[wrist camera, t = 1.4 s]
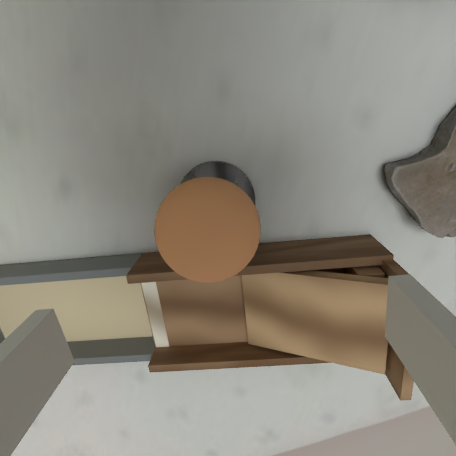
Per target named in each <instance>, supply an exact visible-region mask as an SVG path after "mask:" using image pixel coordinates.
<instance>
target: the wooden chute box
mask: <svg viewBox="0 0 456 456" xmlns="http://www.w3.org/2000/svg"><path fill="white" fill-rule="evenodd" d="M393 256H394V255H393V254H392V253H391V252H390V251H388V250H387V249H386V248H385V247H384V246H383V245H382V244H381V243H379V242H378V241H377V240H376V239H375V238H374V237H373V236H371V235H359V236H347V237H334V238H322V239H310V240H298V241H286V242H274V243H262V244H258V248H257V250H256V252H255V255H254V256H253V258H252V259H251V261H250V262H249V263H248V264H247V266H246V267H245V268H244V269H243V270H241V271H240V272H239V273H237V274H236V275H234V276H232V277H230V278H228V279H225V280H223V281H219V282H213V283H203V282H196V281H192V280H189V279H187V278H185V277H182V276H181V275H179V274H178V273H176V272H175V271H174V270H172V269H171V268H170V267H169V266H168V265H167V263H166V262H165V261H164V259H163V258H162V256H161V254H160V252H152V253H142V254H141V256H140V257H139V258H138V260H137V261H136V262H135V264H134V265H133V267H132V268H131V269H130V271H129V272H128V273H127V275H126V278H127V282H128V284H133V283H140V284H141V288H142V293H143V297H144V301H145V305H146V310H147V314H148V318H149V323H150V327H151V331H152V336H153V340H154V344H155V349H154V352H153V354H152V357H151V360H150V363H149V365H148V367H149V371H150V372H165V371H184V370H202V369H221V368H239V367H258V366H277V365H295V364H314V363H336V364H341V365H345V366H349V367H354V368H358V369H363V370H367V371H372V372H376V373H381V374H386V376H387V378H388V380H389V381H390V383H391V385H392V387H393V388H394V390H395V392H396V394H397V395H398V397H399V399H400V400H411V396H412V389H413V382H414V380H413V379H412V377H411V376H410V374H409V373H408V371H407V369H406V368H405V366H404V365H403V363H402V362H401V360H400V359H399V357H398V356H397V354H396V353H395V351H394V350H393V348H392V347H391V345H390V343H389V342H388V340H387V339H386V337H385V327H386V308H387V290H388V276H396V275H406V274H409V273H407V272H406V271H405V270H404V269H403V268H402V267H401V266H400V265H399V264H398V263H396V262H395V261H394V260H393Z"/></svg>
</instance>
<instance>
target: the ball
mask: <svg viewBox="0 0 456 456" xmlns="http://www.w3.org/2000/svg"><path fill="white" fill-rule="evenodd" d="M154 233H155V240H156V244H157V248H158V250H159V252H160V254H161V256H162V258H163V259H164V261H165V262H166V263H167V265H168V266H169V267H170V268H171V269H172V270H174V271H175V272H176V273H178V274H179V275H181V276H182V277H185V278H187V279H189V280H192V281H196V282H203V283H213V282H219V281H223V280H225V279H228V278H230V277H232V276H234V275H236V274H237V273H239V272H240V271H241V270H243V269H244V268H245V267H246V266H247V264H248V263H249V262H250V261H251V259H252V258H253V256H254V255H255V252H256V250H257V248H258V244H259V241H260V219H259V215H258V212H257V210H256V207H255V205H254V203H253V202H252V200H251V199H250V197H249V196H248V195H247V194H246V193H245V192H244V191H243V190H242V189H241V188H239V187H238V186H237V185H235V184H233V183H231V182H229V181H227V180H224V179H220V178H216V177H199V178H194V179H191V180H188V181H186V182H184V183H182V184H180V185H179V186H177V187H176V188H174V189H173V190H172V191H171V192H170V193H169V194H168V195H167V196H166V197H165V199H164V200H163V202H162V204H161V205H160V207H159V210H158V212H157V215H156V220H155V230H154Z"/></svg>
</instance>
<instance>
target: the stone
mask: <svg viewBox="0 0 456 456" xmlns="http://www.w3.org/2000/svg"><path fill="white" fill-rule="evenodd" d="M385 175H386V179H387V183H388V186H389V189H390V190H391V191H392V193H393V194H394V195H395V197H396V198H397V199H398V201H399V202H401V203H402V204H403V205H404V206H405V207H406V208H407V210H408V212H409V213H410V214H411V215H412V216H413V217H414V218H415V220H416V221H417V223H418V224H419V226H420V227H422V228H423V229H424V230H426V231H427V232H429V233H431V234H432V235H435V236H437V237H441V238H443V237H445V236H448V237H455V236H456V107H455V108H454V109H453V110H452V111H451V112H450V114H449V115H448V116H447V117H446V119H444V120H443V122H442V123H441V124H440V126H439V128H438V131H437V132H436V134H435V136H434V138H433V140H432V142H431V144H430V145H429V146H427V147H426V148H424V149H422V150H421V151H420V152H419V153H418V154H417V155H415V156H412V157H410V158H409V159H406V160H401V161H397V162H394V163H387V164H386V166H385Z"/></svg>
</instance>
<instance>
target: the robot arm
mask: <svg viewBox="0 0 456 456" xmlns="http://www.w3.org/2000/svg"><path fill="white" fill-rule="evenodd" d="M385 337H386V339H387V340H388V342H389V343H390V345H391V347H392V348H393V350H394V351H395V353H396V354H397V356H398V357H399V359H400V360H401V362H402V363H403V365H404V366H405V368H406V369H407V371H408V373H409V374H410V376H411V377H412V379H413V380H414V382H415V383H416V385H417V386H418V388H419V389H420V391H421V392H422V394H423V395H424V397H425V399H426V400H427V402H428V403H429V405H430V406H431V408H432V409H433V411H434V412H435V414H436V415H437V417H438V418H439V420H440V421H441V423H442V425H443V426H444V428H445V429H446V431H447V432H448V434H449V435H450V437H451V438H452V440H453V441H454V443H455V444H456V317H455V316H454V315H453V314H452V313H451V312H450V311H449V310H448V309H447V308H446V307H444V306H443V305H442V304H441V303H440V302H439V301H438V300H437V299H436V298H435V297H434V296H433V295H432V294H431V293H430V292H428V291H427V290H426V289H425V288H424V287H423V286H422V285H421V284H420V283H419V282H418V281H417V280H416V279H415V278H413V277H412V276H411V275H410V274H406V275H396V276H388V290H387V308H386V327H385ZM73 363H74V358H73V356H72V353H71V351H70V348H69V346H68V343H67V341H66V338H65V336H64V333H63V331H62V328H61V326H60V323H59V321H58V318H57V316H56V313H55V311H54V308H52V309H42V310H35V311H34V312H33V313H32V314H31V315H30V316H29V317H28V318H27V319H26V320H25V321H24V322H23V323H22V324H21V325H20V326H18V327H17V328H16V329H15V330H14V331H13V332H12V333H11V334H10V335H9V336H8V337H7V338H6V339H5V340H4V341H3V342H2V343H0V456H11V454H12V453H13V451H14V450H15V448H16V447H17V445H18V444H19V442H20V441H21V439H22V438H23V436H24V435H25V433H26V432H27V431H28V429H29V428H30V426H31V425H32V423H33V422H34V420H35V419H36V417H37V416H38V414H39V413H40V411H41V410H42V408H43V407H44V405H45V404H46V403H47V401H48V400H49V398H50V397H51V395H52V394H53V392H54V391H55V389H56V388H57V386H58V385H59V383H60V382H61V380H62V379H63V378H64V376H65V375H66V373H67V372H68V370H69V369H70V367H71V366H72V364H73Z"/></svg>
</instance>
